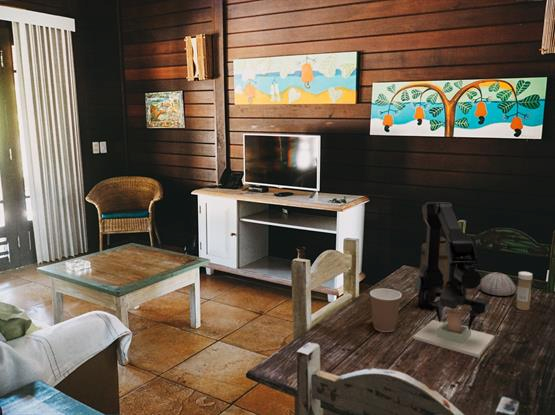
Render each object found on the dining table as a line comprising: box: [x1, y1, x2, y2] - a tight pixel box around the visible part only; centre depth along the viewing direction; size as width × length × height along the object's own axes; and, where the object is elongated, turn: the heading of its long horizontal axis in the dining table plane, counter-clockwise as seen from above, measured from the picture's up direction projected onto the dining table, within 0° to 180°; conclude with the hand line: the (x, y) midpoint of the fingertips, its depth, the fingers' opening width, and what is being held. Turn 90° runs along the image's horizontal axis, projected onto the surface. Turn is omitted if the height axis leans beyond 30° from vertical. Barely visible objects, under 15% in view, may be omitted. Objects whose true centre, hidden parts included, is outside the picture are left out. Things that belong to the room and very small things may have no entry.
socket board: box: [412, 319, 495, 358], centre depth 154 cm, size 20×16×4 cm
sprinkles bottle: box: [515, 271, 534, 311], centre depth 178 cm, size 5×5×14 cm
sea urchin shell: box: [478, 271, 517, 297], centre depth 195 cm, size 13×14×8 cm
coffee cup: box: [369, 288, 402, 333], centre depth 162 cm, size 10×10×12 cm
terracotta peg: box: [447, 308, 463, 334], centre depth 154 cm, size 4×4×8 cm
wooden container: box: [419, 236, 449, 291], centre depth 198 cm, size 15×15×22 cm
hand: (454, 325), depth 154 cm, fingers open, 9 cm apart
